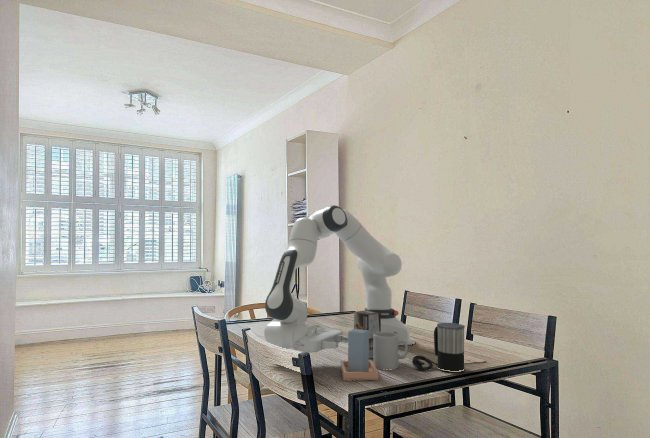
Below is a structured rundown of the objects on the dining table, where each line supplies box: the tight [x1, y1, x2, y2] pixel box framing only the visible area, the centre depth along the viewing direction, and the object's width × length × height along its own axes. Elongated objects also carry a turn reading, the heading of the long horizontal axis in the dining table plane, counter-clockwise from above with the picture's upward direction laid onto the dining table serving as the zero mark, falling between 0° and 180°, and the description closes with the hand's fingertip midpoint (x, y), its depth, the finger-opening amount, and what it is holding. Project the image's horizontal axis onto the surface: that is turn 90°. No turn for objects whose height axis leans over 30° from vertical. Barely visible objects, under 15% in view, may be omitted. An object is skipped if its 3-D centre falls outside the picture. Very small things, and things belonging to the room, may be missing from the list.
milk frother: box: [411, 322, 466, 371], centre depth 150 cm, size 14×16×15 cm
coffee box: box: [353, 310, 381, 359], centre depth 168 cm, size 9×6×16 cm
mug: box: [372, 332, 409, 371], centre depth 152 cm, size 12×8×11 cm
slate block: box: [347, 328, 370, 372], centre depth 143 cm, size 5×5×13 cm
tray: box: [340, 360, 379, 382], centre depth 143 cm, size 11×14×2 cm
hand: (343, 342), depth 146 cm, fingers open, 8 cm apart
